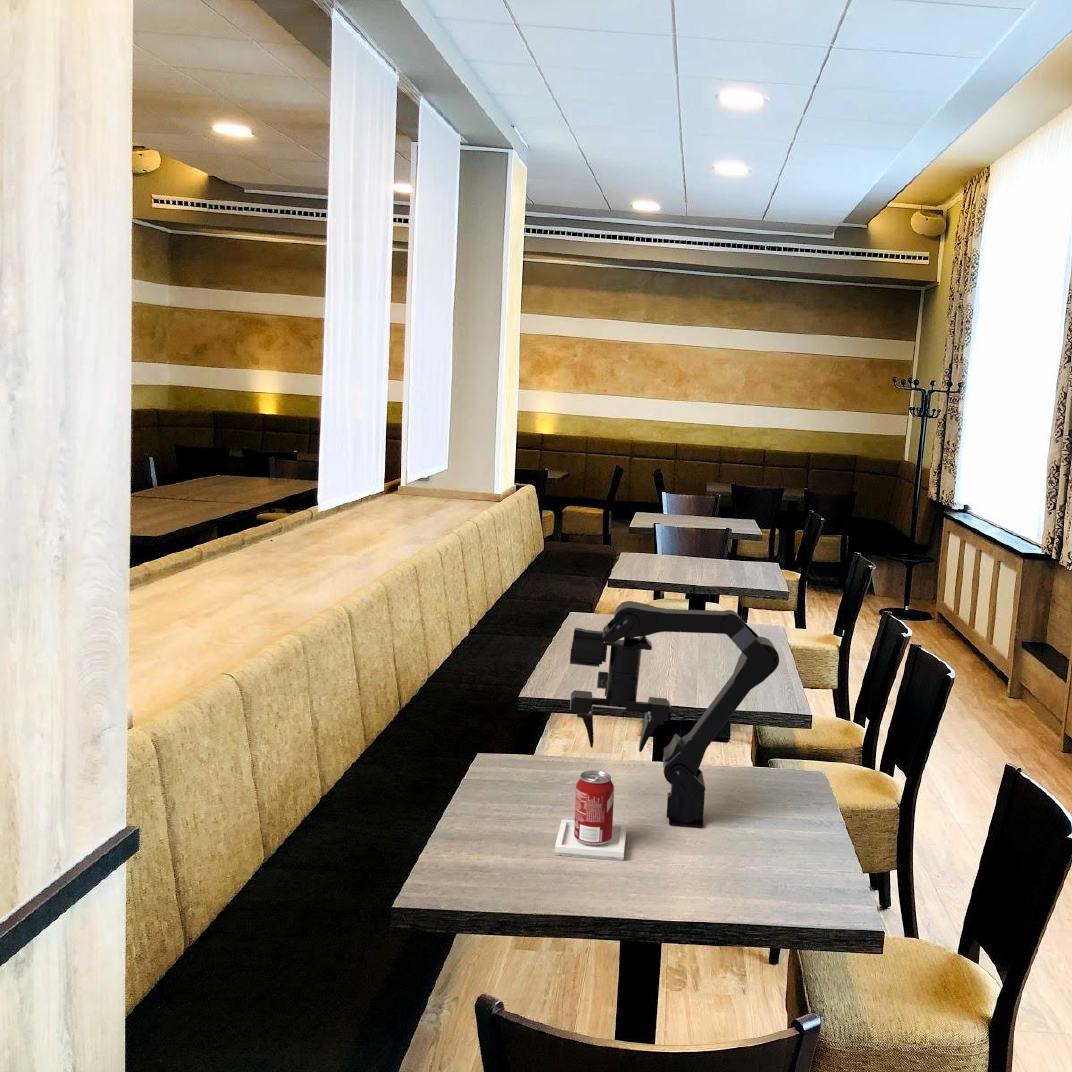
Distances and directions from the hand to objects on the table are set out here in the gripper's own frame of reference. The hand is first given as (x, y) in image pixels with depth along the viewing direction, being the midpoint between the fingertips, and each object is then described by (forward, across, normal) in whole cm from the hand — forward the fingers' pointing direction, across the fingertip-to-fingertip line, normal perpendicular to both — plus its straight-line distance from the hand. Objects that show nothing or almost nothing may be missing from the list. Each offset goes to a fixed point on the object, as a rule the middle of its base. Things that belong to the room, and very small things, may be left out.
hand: (615, 749), depth 209 cm
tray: (+13, +4, +13) cm, 19 cm away
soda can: (+13, +4, +13) cm, 19 cm away
